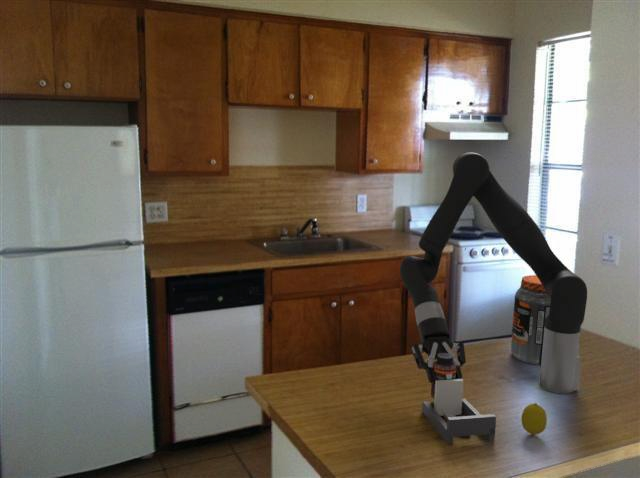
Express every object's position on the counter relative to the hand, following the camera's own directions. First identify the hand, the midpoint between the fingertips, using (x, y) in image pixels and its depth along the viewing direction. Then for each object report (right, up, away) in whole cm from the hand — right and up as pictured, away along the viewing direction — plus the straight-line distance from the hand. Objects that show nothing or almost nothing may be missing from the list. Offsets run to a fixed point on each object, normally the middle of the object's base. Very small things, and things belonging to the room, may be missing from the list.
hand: (446, 382), depth 145 cm
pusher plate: (+1, -9, -5) cm, 10 cm away
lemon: (+18, -10, -9) cm, 23 cm away
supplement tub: (+38, -2, +41) cm, 56 cm away
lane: (+1, -9, -6) cm, 11 cm away
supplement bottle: (0, -5, +3) cm, 5 cm away
